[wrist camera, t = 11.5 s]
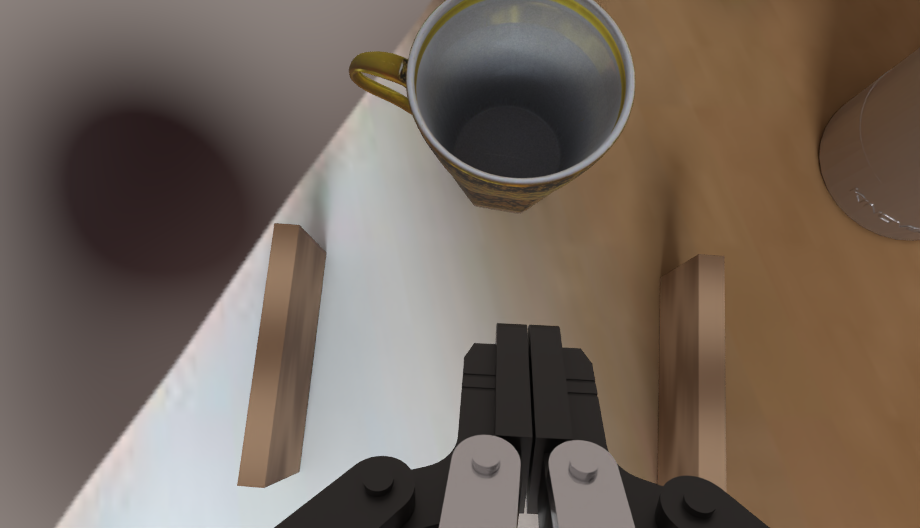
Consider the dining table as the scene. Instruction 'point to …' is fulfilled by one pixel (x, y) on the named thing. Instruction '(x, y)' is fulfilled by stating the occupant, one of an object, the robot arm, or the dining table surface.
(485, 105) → the ceramic cup
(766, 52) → the dining table surface
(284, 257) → the walnut lane
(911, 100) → the robot arm
